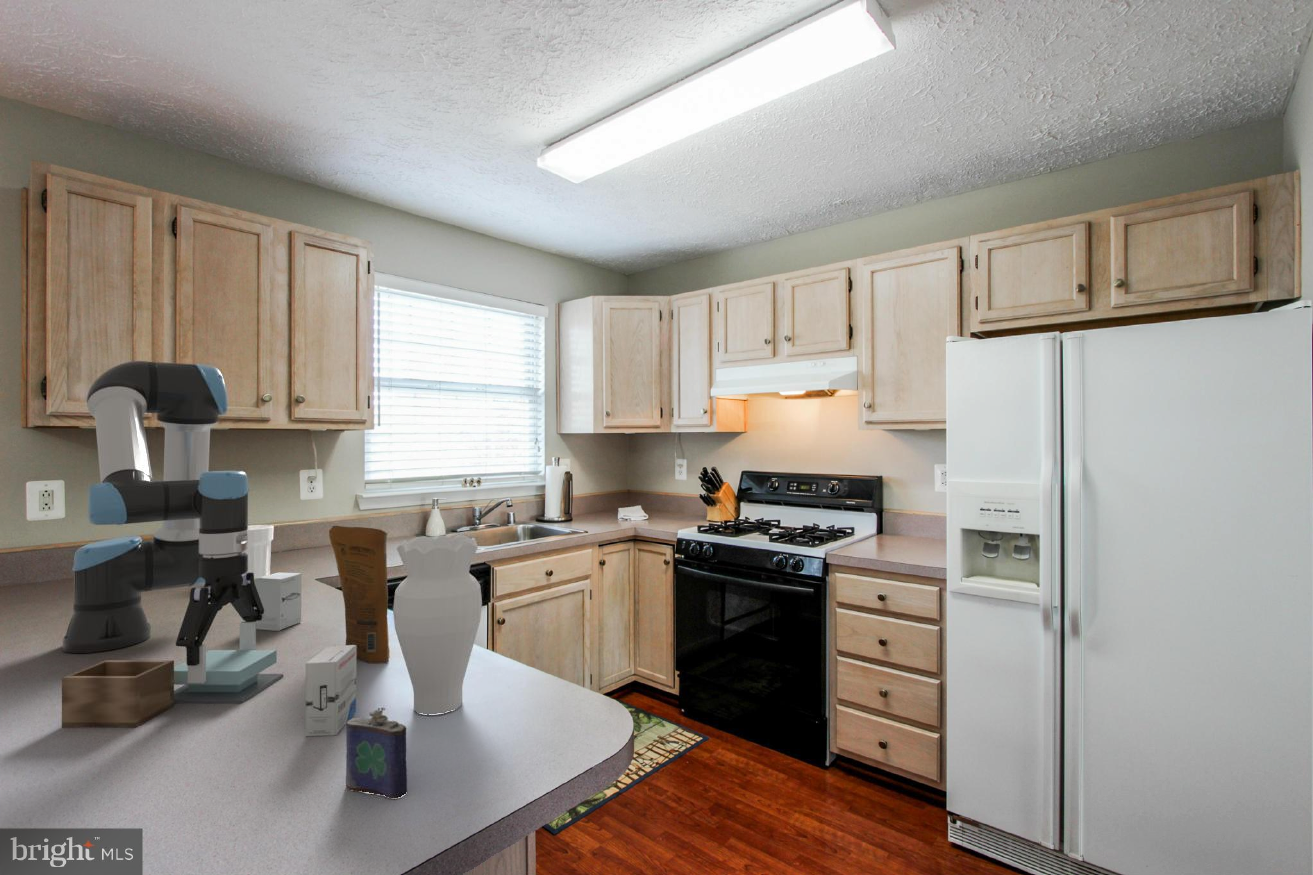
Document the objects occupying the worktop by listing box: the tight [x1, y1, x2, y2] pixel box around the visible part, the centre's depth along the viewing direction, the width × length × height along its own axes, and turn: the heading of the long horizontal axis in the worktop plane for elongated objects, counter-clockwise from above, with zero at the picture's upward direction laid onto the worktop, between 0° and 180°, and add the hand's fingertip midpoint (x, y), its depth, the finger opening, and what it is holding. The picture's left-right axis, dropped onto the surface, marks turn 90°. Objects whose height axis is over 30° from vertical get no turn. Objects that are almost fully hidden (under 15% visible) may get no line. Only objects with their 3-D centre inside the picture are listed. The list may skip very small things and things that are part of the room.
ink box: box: [305, 645, 357, 737], centre depth 103 cm, size 9×5×12 cm, turn 5°
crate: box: [61, 659, 175, 729], centre depth 106 cm, size 12×8×8 cm, turn 90°
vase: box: [392, 534, 483, 715], centre depth 110 cm, size 15×15×29 cm
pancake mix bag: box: [328, 525, 390, 664], centre depth 135 cm, size 7×19×28 cm, turn 53°
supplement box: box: [254, 572, 302, 632], centre depth 156 cm, size 7×7×13 cm
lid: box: [174, 649, 278, 692], centre depth 117 cm, size 13×11×5 cm
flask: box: [345, 707, 408, 799], centre depth 84 cm, size 9×3×11 cm, turn 72°
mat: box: [174, 673, 284, 704], centre depth 117 cm, size 15×12×1 cm
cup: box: [244, 524, 275, 583], centre depth 205 cm, size 11×11×17 cm
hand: (223, 668), depth 117 cm, fingers open, 13 cm apart
